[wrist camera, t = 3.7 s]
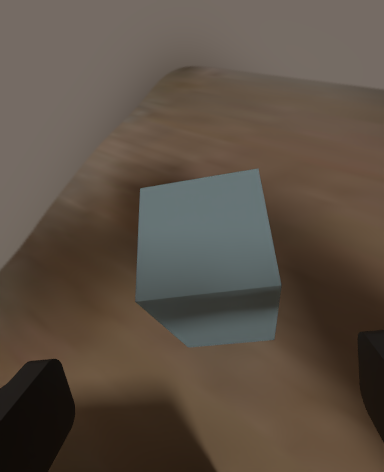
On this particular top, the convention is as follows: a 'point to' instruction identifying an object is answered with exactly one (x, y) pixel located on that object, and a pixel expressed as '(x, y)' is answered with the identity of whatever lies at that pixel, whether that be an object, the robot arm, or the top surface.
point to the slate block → (208, 260)
